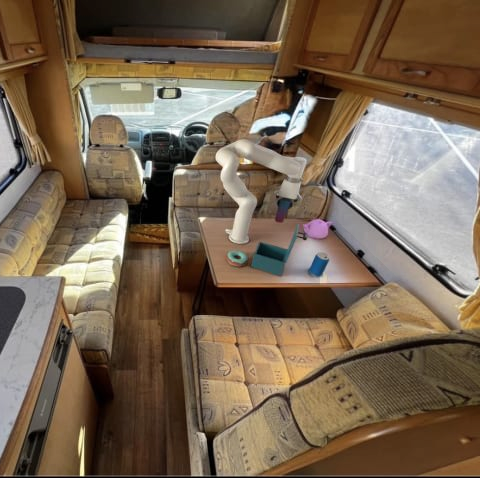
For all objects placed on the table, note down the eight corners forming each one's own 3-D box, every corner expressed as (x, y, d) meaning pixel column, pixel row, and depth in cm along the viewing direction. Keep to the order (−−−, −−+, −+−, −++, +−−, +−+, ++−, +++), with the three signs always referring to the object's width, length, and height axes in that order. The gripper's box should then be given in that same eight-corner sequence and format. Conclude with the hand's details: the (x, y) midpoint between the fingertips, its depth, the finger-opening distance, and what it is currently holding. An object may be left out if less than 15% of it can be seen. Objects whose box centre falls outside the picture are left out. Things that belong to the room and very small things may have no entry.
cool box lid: (295, 236, 124) (307, 240, 121) (298, 223, 133) (309, 226, 131) (284, 262, 133) (295, 266, 131) (287, 248, 143) (298, 252, 141)
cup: (285, 224, 163) (293, 202, 154) (274, 222, 164) (281, 201, 155) (283, 218, 168) (290, 197, 160) (272, 217, 169) (279, 196, 161)
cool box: (250, 266, 144) (254, 254, 139) (255, 253, 154) (259, 241, 149) (280, 276, 138) (284, 263, 133) (283, 261, 148) (288, 249, 143)
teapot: (293, 229, 176) (298, 216, 170) (320, 227, 179) (326, 213, 173) (306, 241, 165) (311, 227, 159) (334, 238, 168) (340, 224, 162)
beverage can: (321, 279, 137) (329, 261, 130) (307, 274, 140) (315, 257, 133) (322, 272, 141) (330, 254, 134) (309, 267, 144) (317, 250, 137)
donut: (244, 270, 142) (245, 265, 139) (223, 263, 146) (224, 258, 144) (249, 258, 150) (250, 253, 148) (229, 252, 155) (230, 246, 152)
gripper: (309, 180, 149) (299, 208, 160) (278, 174, 156) (270, 201, 166) (308, 184, 144) (298, 213, 154) (276, 178, 150) (268, 205, 161)
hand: (283, 206), depth 160 cm, fingers closed on cup, 6 cm apart
